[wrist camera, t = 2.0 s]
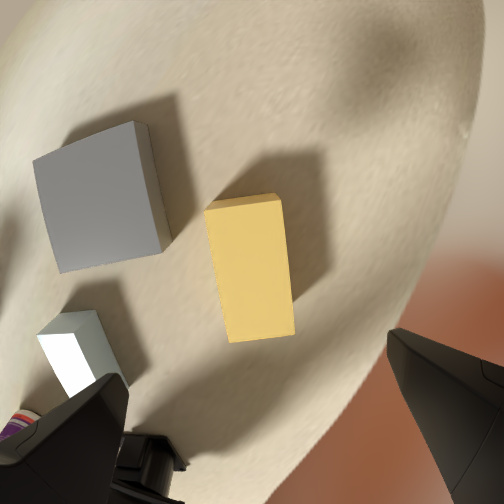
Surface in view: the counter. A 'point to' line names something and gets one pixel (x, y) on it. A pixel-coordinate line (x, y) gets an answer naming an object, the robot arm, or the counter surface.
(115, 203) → the base slab
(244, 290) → the ochre brick
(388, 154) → the counter surface
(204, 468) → the counter surface
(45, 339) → the blue brick
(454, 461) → the robot arm
